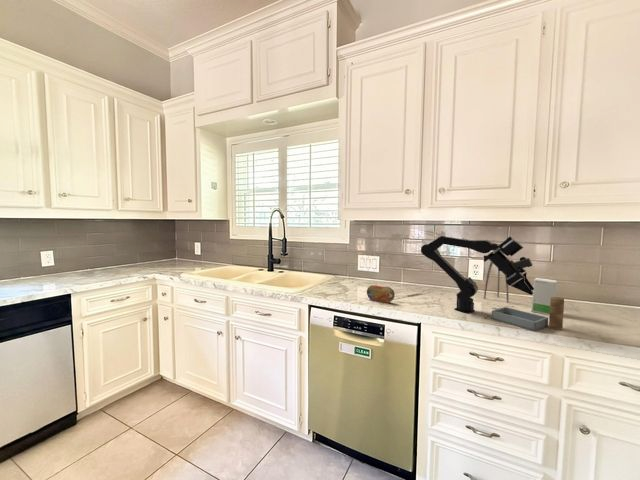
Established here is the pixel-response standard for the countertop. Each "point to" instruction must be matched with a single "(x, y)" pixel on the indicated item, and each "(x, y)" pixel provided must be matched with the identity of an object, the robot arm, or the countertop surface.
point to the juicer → (498, 279)
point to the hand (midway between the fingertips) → (532, 291)
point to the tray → (520, 318)
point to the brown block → (556, 313)
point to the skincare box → (543, 295)
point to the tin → (380, 293)
